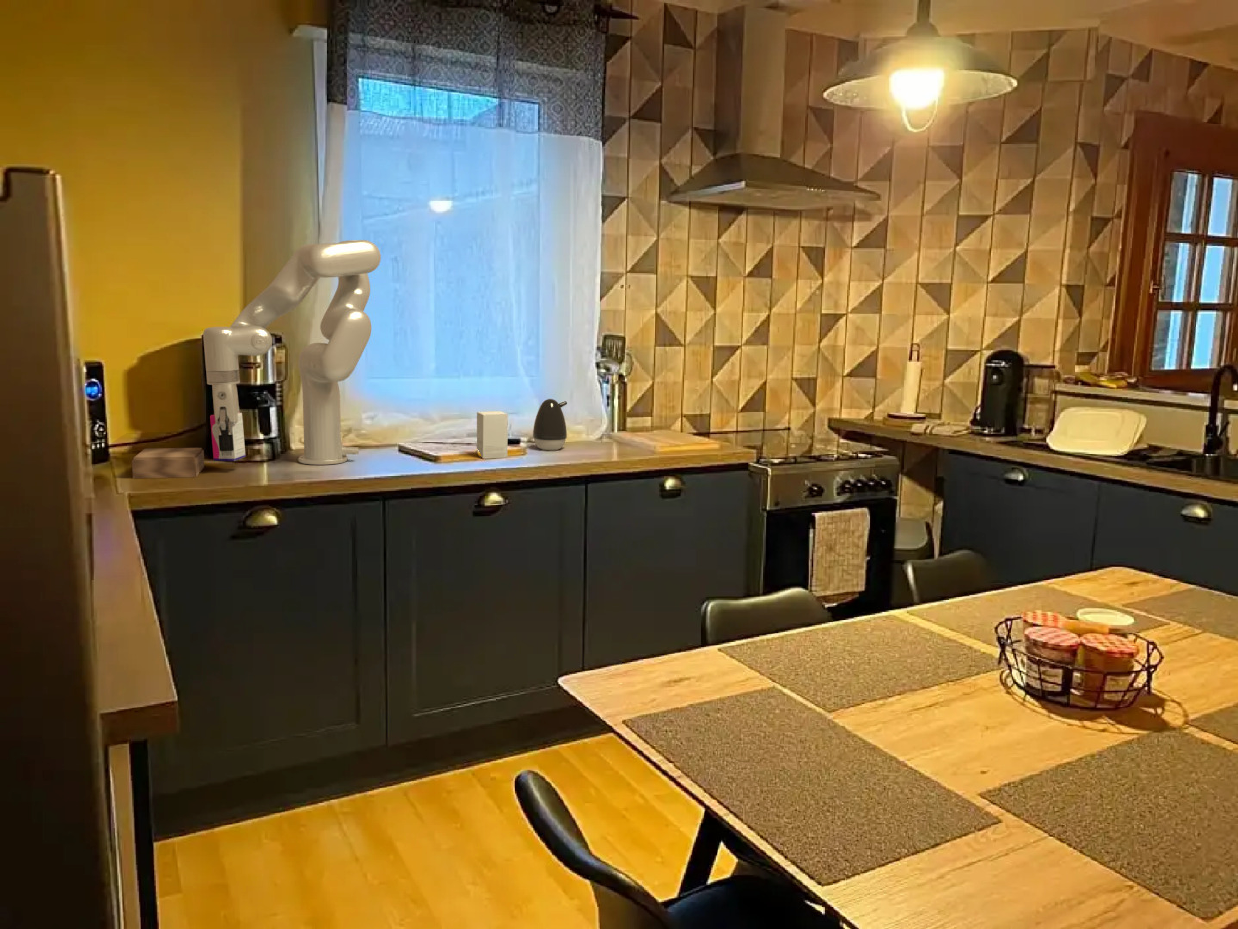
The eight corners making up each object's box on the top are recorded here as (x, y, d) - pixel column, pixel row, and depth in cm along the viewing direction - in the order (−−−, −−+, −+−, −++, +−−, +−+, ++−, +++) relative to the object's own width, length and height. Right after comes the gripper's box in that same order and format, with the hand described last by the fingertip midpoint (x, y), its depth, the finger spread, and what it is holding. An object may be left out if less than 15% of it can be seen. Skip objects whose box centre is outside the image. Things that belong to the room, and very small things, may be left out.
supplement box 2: (508, 458, 273) (508, 413, 271) (482, 459, 271) (482, 414, 269) (501, 453, 280) (501, 410, 278) (476, 454, 277) (476, 411, 275)
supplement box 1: (246, 456, 246) (242, 412, 243) (235, 461, 240) (231, 415, 238) (224, 456, 246) (220, 411, 244) (212, 460, 241) (208, 415, 238)
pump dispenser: (572, 451, 289) (573, 400, 286) (539, 452, 284) (540, 401, 281) (559, 445, 298) (560, 396, 295) (527, 447, 293) (528, 397, 291)
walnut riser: (204, 466, 248) (203, 447, 247) (196, 477, 235) (195, 456, 234) (144, 467, 244) (143, 448, 243) (132, 478, 231) (131, 457, 230)
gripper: (235, 380, 232) (240, 453, 235) (243, 373, 248) (248, 441, 252) (201, 381, 230) (207, 455, 233) (211, 374, 246) (217, 442, 250)
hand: (228, 447), depth 243 cm, fingers closed on supplement box 1, 7 cm apart
